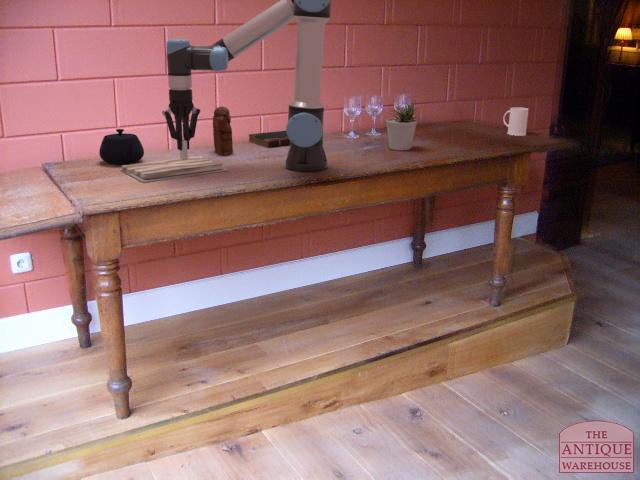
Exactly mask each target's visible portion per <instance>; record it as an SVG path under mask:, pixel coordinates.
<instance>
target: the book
mask: <svg viewBox="0 0 640 480" xmlns="http://www.w3.org/2000/svg"><path fill="white" fill-rule="evenodd" d="M248 141H249V142H250V143H252V144H255V145H258V146H262V147H264V148H268V149H272V148H273V149H274V148H282V146H283V147H290V139H289V137H288V135H287V132H286V130H279V131H277V130H276V131H269V132H268V131H267V132H260V133H259V132H258V133H250V134H248Z"/></svg>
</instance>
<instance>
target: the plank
mask: <svg viewBox="0 0 640 480" xmlns="http://www.w3.org/2000/svg"><path fill="white" fill-rule="evenodd" d="M222 168H223V163H218V162H215V161H212V160H210V159H209V160H202V161H195V162H187V163H179V164H171V165H164V166H156V167H148V168H140V169H133V174H135V175H138V176H140V177H142V178H144V179H151V178H159V177H166V176H173V175H180V174H187V173H195V172H202V171H209V170H216V169H222Z"/></svg>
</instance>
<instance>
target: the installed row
mask: <svg viewBox="0 0 640 480" xmlns="http://www.w3.org/2000/svg"><path fill="white" fill-rule="evenodd" d="M202 160H210V159H209V158H206V157H204V156H201V155H199V156H198V155H197V156H190V157H188V160H182V159H180V158H174V159H167V160H166V159H165V160H159V161H149V162H140V163H134V164H129V165H121V170H123V171H125V172H127V173H129V174H131V173H133V169H140V168H148V167H156V166H164V165H171V164H179V163H187V162H195V161H202Z"/></svg>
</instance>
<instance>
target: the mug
mask: <svg viewBox="0 0 640 480" xmlns="http://www.w3.org/2000/svg"><path fill="white" fill-rule="evenodd" d="M508 113H509V119H508V123H507V122H506V115H507V114H508ZM528 117H529V108H526V107H519V106H516V107H515V106H514V107H510V109H509V110H507V111H506V112H505V113H504V114H503V117H502V118H503V120H502V121H503V123H504V125H505V126H506V127H507V132H506V135H508V134H509V135H508V136H513V135H514V137H515V136H516V137H523V136H527V125H528Z"/></svg>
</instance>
